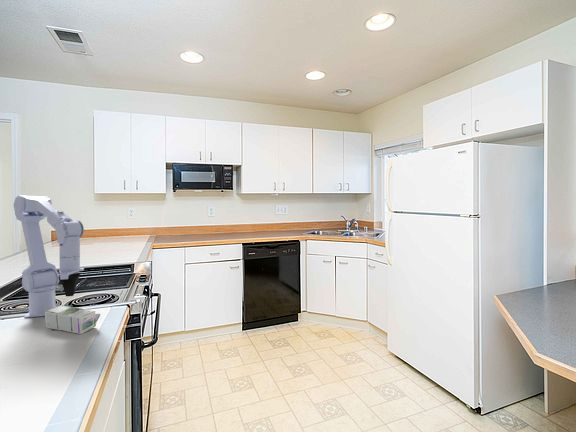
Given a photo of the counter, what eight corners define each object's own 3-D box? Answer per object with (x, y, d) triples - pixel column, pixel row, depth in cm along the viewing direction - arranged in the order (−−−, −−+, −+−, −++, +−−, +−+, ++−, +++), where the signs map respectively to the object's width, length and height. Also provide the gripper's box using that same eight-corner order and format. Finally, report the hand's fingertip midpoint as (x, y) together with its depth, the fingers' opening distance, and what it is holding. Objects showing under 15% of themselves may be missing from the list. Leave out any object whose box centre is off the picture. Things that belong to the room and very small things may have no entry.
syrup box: (45, 328, 102) (81, 335, 98) (44, 310, 101) (80, 317, 98) (61, 320, 107) (96, 327, 104) (60, 303, 106) (96, 310, 103)
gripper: (78, 259, 102) (78, 300, 102) (87, 252, 115) (88, 289, 115) (52, 260, 99) (52, 302, 99) (65, 253, 112) (65, 290, 113)
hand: (69, 295), depth 107 cm, fingers closed
